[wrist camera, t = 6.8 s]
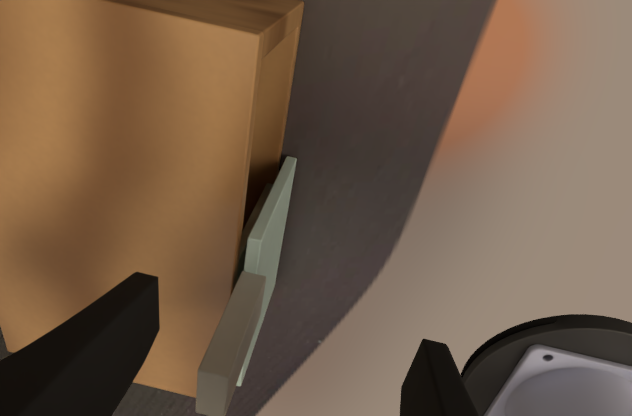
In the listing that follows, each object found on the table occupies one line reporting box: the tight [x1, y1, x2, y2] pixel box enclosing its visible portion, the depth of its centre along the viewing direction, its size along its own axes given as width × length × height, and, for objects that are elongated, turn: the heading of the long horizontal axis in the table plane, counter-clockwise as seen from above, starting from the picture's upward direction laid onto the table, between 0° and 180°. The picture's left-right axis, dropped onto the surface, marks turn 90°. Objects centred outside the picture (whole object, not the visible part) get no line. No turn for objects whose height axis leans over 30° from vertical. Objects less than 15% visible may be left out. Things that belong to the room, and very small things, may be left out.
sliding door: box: [195, 156, 297, 416], centre depth 18 cm, size 1×8×11 cm, turn 170°
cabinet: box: [0, 0, 304, 398], centre depth 19 cm, size 10×16×7 cm, turn 170°
